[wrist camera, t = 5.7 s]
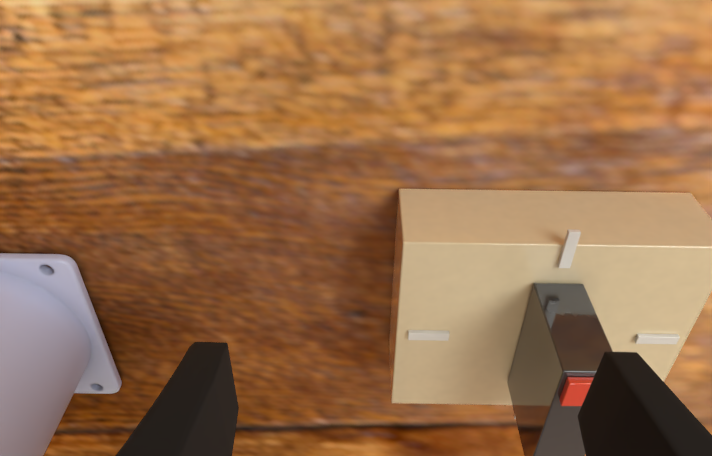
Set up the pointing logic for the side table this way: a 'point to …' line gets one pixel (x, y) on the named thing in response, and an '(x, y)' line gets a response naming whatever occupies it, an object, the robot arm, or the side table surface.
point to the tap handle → (555, 368)
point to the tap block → (536, 280)
